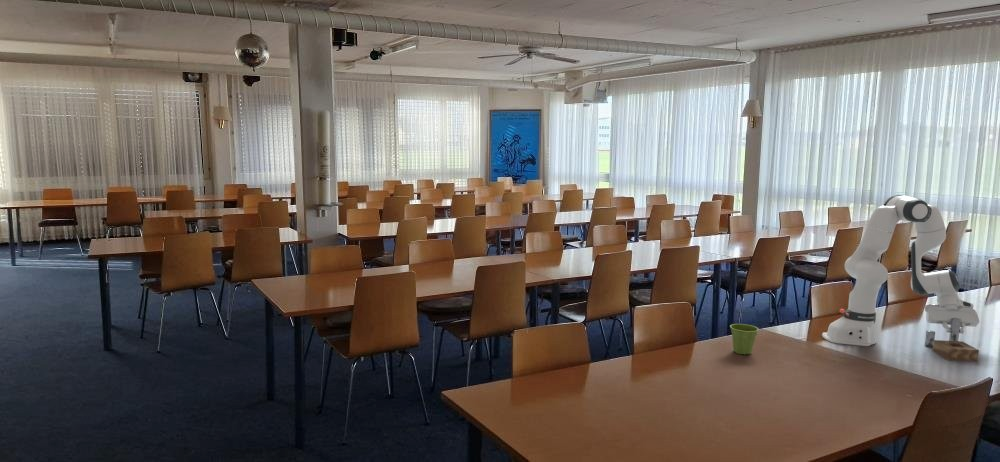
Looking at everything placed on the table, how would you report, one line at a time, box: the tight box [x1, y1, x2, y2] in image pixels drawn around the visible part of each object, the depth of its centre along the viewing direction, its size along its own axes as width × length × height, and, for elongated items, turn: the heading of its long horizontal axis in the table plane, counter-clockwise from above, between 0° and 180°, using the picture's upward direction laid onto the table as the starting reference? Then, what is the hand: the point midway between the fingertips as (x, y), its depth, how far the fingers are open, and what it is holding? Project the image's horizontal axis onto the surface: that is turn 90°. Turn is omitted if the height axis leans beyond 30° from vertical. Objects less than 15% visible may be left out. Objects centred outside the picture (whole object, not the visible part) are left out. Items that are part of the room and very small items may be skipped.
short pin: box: [924, 329, 936, 348], centre depth 299 cm, size 4×4×7 cm
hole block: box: [932, 339, 980, 362], centre depth 286 cm, size 12×12×5 cm
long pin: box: [948, 318, 961, 341], centre depth 295 cm, size 4×4×14 cm
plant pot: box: [729, 323, 760, 355], centre depth 286 cm, size 12×12×11 cm
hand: (955, 332), depth 295 cm, fingers closed on long pin, 3 cm apart
